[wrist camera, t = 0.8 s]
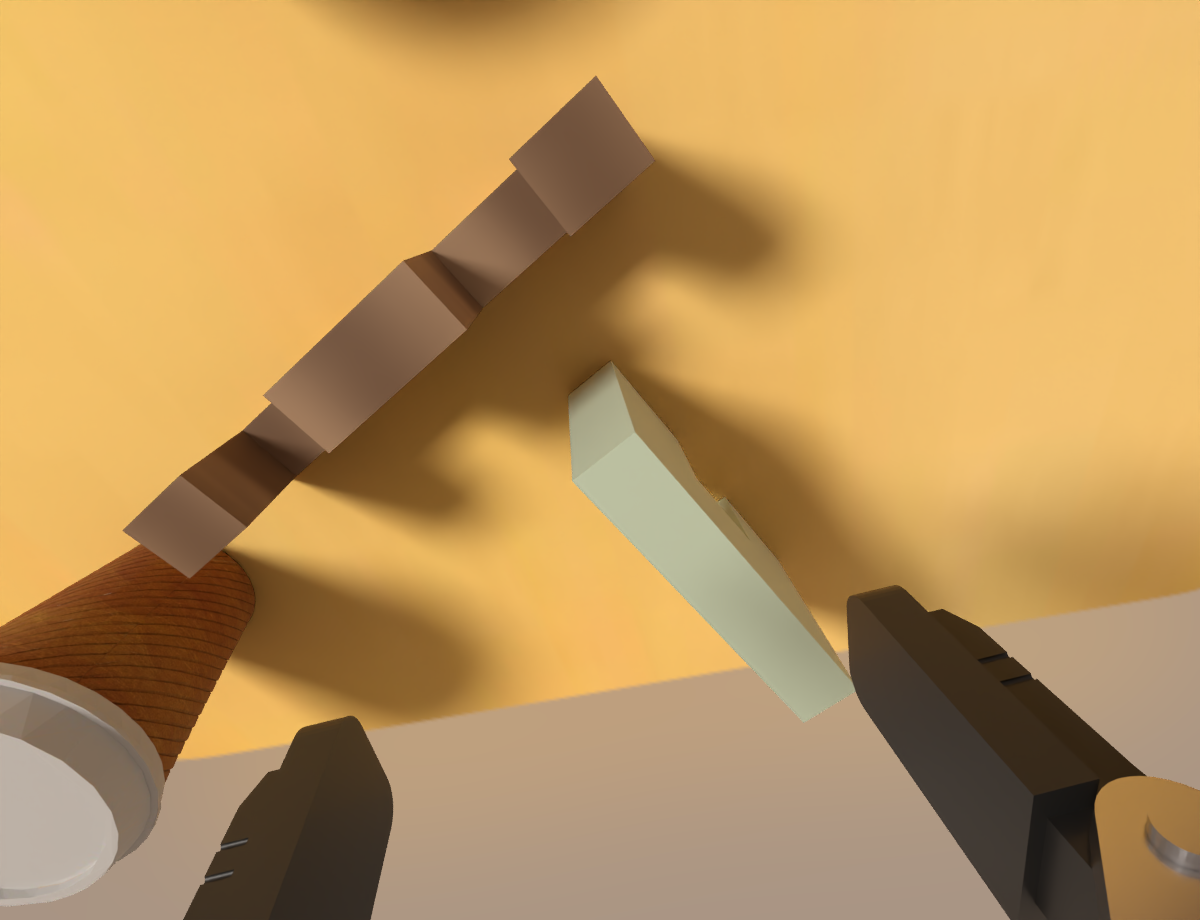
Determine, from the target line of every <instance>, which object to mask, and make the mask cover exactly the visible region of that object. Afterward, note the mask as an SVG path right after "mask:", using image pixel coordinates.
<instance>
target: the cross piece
mask: <svg viewBox="0 0 1200 920" xmlns="http://www.w3.org/2000/svg"><path fill="white" fill-rule="evenodd" d="M568 406H569V426H570V445H571V465H572V481H573V482H574V484H575V485H576V486H577V487H578V488H579V489H580V490H581V491H582V492H583V493H584V494H585V495H586V496H587V497H588V498H589V499H590V500H591V501H592V502H593V503H594V504H595V505H596V506H597V508H598V509H599V510H600V511H601V512H602V513H603V514H604V515H605V516H606V517H607V518H608V519H609V520H610V521H611V522H612V523H613V524H614V525H615V526H616V527H617V528H618V529H619V531H620V532H621V533H622V534H623V535H624V536H625V537H626V538H627V539H628V540H629V541H630V542H631V543H632V544H633V545H634V546H635V547H636V548H637V549H638V550H639V551H640V552H641V553H642V555H643V556H644V557H645V558H646V559H647V560H648V561H649V562H650V563H651V564H652V565H653V566H654V567H655V568H656V569H657V570H658V571H659V572H660V573H661V574H662V575H663V576H664V577H665V579H666V580H667V581H668V582H669V583H670V584H671V585H672V586H673V587H674V588H675V589H676V590H677V591H678V592H679V593H680V594H681V595H682V596H683V597H684V598H685V599H686V600H687V601H688V603H689V604H690V605H691V606H692V607H693V608H694V609H695V610H696V611H697V612H698V613H699V614H700V615H701V616H702V617H703V618H704V619H705V620H706V621H707V622H708V623H709V624H710V625H711V627H712V628H713V629H714V630H715V631H716V632H717V633H718V634H719V635H720V636H721V637H722V638H723V639H724V640H725V641H726V642H727V643H728V644H729V645H730V646H731V647H732V648H733V650H734V651H735V652H736V653H737V654H738V655H739V656H740V657H741V658H742V659H743V660H744V661H745V662H746V663H747V664H748V665H749V666H750V667H751V668H752V669H753V670H754V671H755V672H756V674H757V675H758V676H760V678H761V679H762V680H763V681H764V682H765V683H766V684H767V685H768V686H769V687H770V688H771V689H772V690H773V691H774V692H775V693H776V694H777V695H778V696H779V697H780V699H781V700H782V701H783V702H784V703H785V704H786V705H787V706H788V707H789V708H790V709H791V710H792V711H793V712H794V713H795V714H796V715H797V716H798V717H799V718H800V719H801V720H802V722H803V723H804V722H806V721H808V720H809V719H811V718H812V717H814V716H816V715H817V714H819V713H821V712H822V711H824V710H825V709H827V708H829V707H831V706H832V705H834V704H835V703H837V702H839V701H841V700H842V699H844V698H845V697H847V696H849V695H850V694H852V693H854V692H855V688H854V685H853V682H852V678H851V677H850V675H849V674H848V672H847V670H846V669H845V667H844V666H843V664H842V662H841V661H840V659H839V658H838V656H837V654H836V653H835V651H834V649H833V648H832V646H831V645H830V643H829V641H828V640H827V638H826V637H825V635H824V633H823V632H822V630H821V628H820V627H819V625H818V624H817V622H816V620H815V619H814V617H813V616H812V614H811V612H810V611H809V609H808V607H807V606H806V604H805V603H804V601H803V599H802V598H801V596H800V595H799V593H798V591H797V590H796V588H795V586H794V585H793V583H792V582H791V580H790V578H789V577H788V575H787V574H786V572H785V570H784V569H783V567H782V565H781V564H780V562H779V561H778V559H777V558H776V557H775V556H774V555H773V553H772V552H771V551H770V550H769V549H768V547H767V546H766V545H765V544H764V543H763V542H762V540H761V539H760V538H759V537H758V536H757V534H756V533H755V532H754V531H753V530H752V528H751V527H750V526H749V525H748V524H747V522H746V521H745V520H744V519H743V518H742V516H741V515H740V514H739V513H738V512H737V510H736V509H735V508H734V507H733V506H732V505H731V503H730V502H729V501H728V500H727V499H726V497H724V498H722V499H721V500H720V501H718V502H716V500H715V499H714V498H713V497H712V496H711V495H710V493H709V492H708V491H707V490H706V489H705V487H704V486H703V485H702V484H701V483H700V482H699V480H698V479H697V478H696V476H695V474H694V472H693V470H692V468H691V466H690V464H689V462H688V460H687V458H686V456H685V454H684V452H683V450H682V448H681V446H680V444H679V442H678V440H677V439H676V438H675V436H674V435H673V434H672V433H671V432H670V431H669V429H668V428H667V427H666V426H665V425H664V423H663V422H662V421H661V420H660V419H659V417H658V416H657V415H656V414H655V413H654V411H653V410H652V409H651V408H650V407H649V405H648V404H647V403H646V402H645V401H644V399H643V398H642V397H641V396H640V395H639V394H638V392H637V391H636V390H635V389H634V388H633V386H632V385H631V384H630V383H629V382H628V380H627V379H626V378H625V377H624V376H623V374H622V373H621V372H620V371H619V370H618V368H617V367H616V366H615V365H614V364H613V362H612V361H610V362H608V363H607V364H606V365H605V366H603V367H602V368H601V369H600V370H599V371H597V372H596V373H595V374H594V375H593V376H591V377H590V378H589V379H588V380H587V381H585V382H584V383H583V384H582V385H580V386H579V387H578V388H577V389H576V390H574V391H573V392H572V393H571V394H570V395H568Z"/></svg>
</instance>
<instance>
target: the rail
mask: <svg viewBox="0 0 1200 920" xmlns="http://www.w3.org/2000/svg"><path fill="white" fill-rule="evenodd" d="M509 160H510V161H511V162H512V164H513V165H514V166H515V167H516V169H517V170H516V171H515V172H514V173H512V174H511V175H510V176H509V177H508V178H507V179H506V180H505V181H504V182H503V183H502V184H501V185H500V186H499V187H498V188H497V189H496V190H495V191H494V192H493V193H491V194H490V195H489V196H488V197H487V198H486V199H485V200H484V201H483V202H482V203H481V204H480V205H479V206H478V207H477V208H476V209H475V210H474V211H473V212H472V213H470V214H469V215H468V216H467V217H466V218H465V219H464V220H463V221H462V222H461V223H460V224H459V225H458V226H457V227H456V228H455V229H454V230H453V231H452V232H451V233H449V234H448V235H447V236H446V237H445V238H444V239H443V240H442V241H441V242H440V243H439V244H438V245H437V246H436V247H435V248H434V249H433V250H432V251H429V252H426V253H424V254H421V255H418V256H415V257H412V258H410V259H407V260H404V261H402V262H401V263H400V264H399V265H398V266H397V267H396V268H395V269H394V270H393V271H392V272H391V273H390V274H389V275H388V276H387V277H386V278H385V279H384V280H383V281H382V282H381V283H380V284H379V285H377V286H376V287H375V288H374V289H373V290H372V291H371V292H370V293H369V294H368V295H367V296H366V297H365V298H364V299H363V300H362V301H361V302H360V303H359V304H358V305H357V306H356V307H355V308H354V309H353V310H351V311H350V312H349V313H348V314H347V315H346V316H345V317H344V318H343V319H342V320H341V321H340V322H339V323H338V324H337V325H336V326H335V327H334V328H333V329H332V330H331V331H330V332H329V333H328V334H326V335H325V336H324V337H323V338H322V339H321V340H320V341H319V342H318V343H317V344H316V345H315V346H314V347H313V348H312V349H311V350H310V351H309V352H308V353H307V354H306V355H305V356H304V357H303V358H302V359H300V360H299V361H298V362H297V363H296V364H295V365H294V366H293V367H292V368H291V369H290V370H289V371H288V372H287V373H286V374H285V375H284V376H283V377H282V378H281V379H280V380H279V381H278V382H277V383H275V384H274V385H273V386H272V387H271V388H270V389H269V390H268V391H267V392H266V393H265V394H264V395H263V396H264V397H265V398H266V399H268V400H269V401H270V402H271V404H270V405H269V406H268V407H267V408H266V409H265V410H264V411H263V412H262V413H260V414H259V415H258V416H257V417H256V418H255V419H254V420H253V421H252V422H251V423H250V424H249V425H248V426H247V427H246V428H245V429H244V430H243V431H241V432H240V433H238V434H237V435H236V436H234V437H233V438H231V439H230V440H229V441H227V442H226V443H224V444H223V445H222V446H220V447H219V448H217V449H216V450H215V451H213V452H212V453H210V454H209V455H208V456H206V457H205V458H203V459H202V460H201V461H199V462H198V463H196V464H195V465H194V466H192V467H191V468H189V469H188V470H187V471H185V472H184V473H182V474H181V475H180V476H179V477H178V478H177V479H176V480H175V481H173V482H172V483H171V484H170V485H169V486H168V487H167V488H166V489H165V490H164V491H163V492H162V493H161V494H160V495H159V496H158V497H157V498H156V499H155V500H154V501H153V502H152V503H151V504H150V505H148V506H147V507H146V508H145V509H144V510H143V511H142V512H141V513H140V514H139V515H138V516H137V517H136V518H135V519H134V520H133V521H132V522H131V523H130V524H129V525H128V526H127V527H126V528H125V529H124V530H122V531H124V532H125V533H126V534H128V535H129V536H131V537H132V538H133V539H135V540H136V541H138V542H139V543H140V544H142V545H143V546H145V547H146V548H148V549H149V550H150V551H152V552H153V553H155V554H156V555H157V556H159V557H160V558H162V559H163V560H164V561H166V562H167V563H169V564H170V565H171V566H173V567H174V568H176V569H177V570H178V571H180V572H181V573H183V574H184V575H185V576H187V577H188V578H191V577H192V576H193V575H194V574H195V573H196V572H198V571H199V570H200V569H201V568H202V567H203V566H204V565H205V564H206V563H208V562H209V561H210V560H211V559H212V558H213V557H214V556H215V555H217V554H218V553H219V552H220V551H221V550H222V549H223V548H224V547H225V546H227V545H228V544H229V543H230V542H231V541H232V540H233V539H234V538H235V537H237V536H238V535H239V534H240V533H241V532H242V531H243V530H244V529H245V528H247V527H248V526H249V525H250V524H251V522H252V521H253V520H254V519H255V518H256V517H257V516H258V515H259V514H260V513H261V512H262V511H263V510H264V509H265V508H266V507H267V506H268V505H269V504H270V503H271V502H272V501H273V500H274V499H275V498H276V497H277V496H278V495H279V494H280V492H281V491H282V490H283V489H284V488H285V487H286V486H287V485H288V484H289V483H290V482H291V481H292V480H293V479H294V478H295V477H296V476H297V475H298V474H299V473H300V472H301V471H303V470H304V469H305V468H306V467H307V466H308V465H309V464H310V463H311V462H313V461H314V460H315V459H316V458H317V457H318V456H319V455H320V454H321V453H322V452H324V451H325V450H326V451H327V452H328V453H330V452H331V451H332V450H333V449H335V448H336V447H337V446H338V445H339V444H340V443H341V442H342V441H344V440H345V439H346V438H347V437H348V436H349V435H350V434H351V433H352V432H354V431H355V430H356V429H357V428H358V427H359V426H360V425H361V424H362V423H364V422H365V421H366V420H367V419H368V418H369V417H370V416H371V415H372V414H374V413H375V412H376V411H377V410H378V409H379V408H380V407H381V406H382V405H384V404H385V403H386V402H387V401H388V400H389V399H390V398H391V397H393V396H394V395H395V394H396V393H397V392H398V391H399V390H400V389H401V388H403V387H404V386H405V385H406V384H407V383H408V382H409V381H410V380H411V379H413V378H414V377H415V376H416V375H417V374H418V373H419V372H420V371H421V370H423V369H424V368H425V367H426V366H427V365H428V364H429V363H430V362H432V361H433V360H434V359H435V358H436V357H437V356H438V355H439V354H440V353H442V352H443V351H444V350H445V349H446V348H447V347H448V346H449V345H450V344H452V343H453V342H454V341H455V340H456V339H457V338H458V337H459V336H460V335H462V334H463V333H464V332H465V331H466V330H467V329H468V328H469V326H470V325H471V324H472V322H473V321H474V319H475V318H476V317H477V315H478V314H479V313H480V311H481V310H482V308H483V307H484V306H486V305H487V304H488V303H489V302H490V301H491V300H492V299H493V298H494V297H496V296H497V295H498V294H499V293H500V292H501V291H502V290H503V289H504V288H506V287H507V286H508V285H509V284H510V283H511V282H512V281H513V280H514V279H516V278H517V277H518V276H519V275H520V274H521V273H522V272H523V271H524V270H526V269H527V268H528V267H529V266H530V265H531V264H532V263H533V262H534V261H536V260H537V259H538V258H539V257H540V256H541V255H542V254H543V253H544V252H546V251H547V250H548V249H549V248H550V247H551V246H552V245H553V244H554V243H555V242H557V241H558V240H559V239H560V238H561V237H562V236H563V235H564V234H565V233H568V234H569V235H570V237H571V236H572V235H573V234H574V233H575V232H576V231H577V230H579V229H580V228H581V227H582V226H583V225H584V224H585V223H586V222H587V221H589V220H590V219H591V218H592V217H593V216H594V215H595V214H596V213H597V212H599V211H600V210H601V209H602V208H603V207H604V206H605V205H606V204H608V203H609V202H610V201H611V200H612V199H613V198H614V197H615V196H616V195H618V194H619V193H620V192H621V191H622V190H623V189H624V188H625V187H626V186H628V185H629V184H630V183H631V182H632V181H633V180H634V179H635V178H636V177H638V176H639V175H640V174H641V173H642V172H643V171H644V170H645V169H646V168H648V167H649V166H650V165H651V164H652V163H653V162H654V161H655V160H654V158H653V157H652V155H651V154H650V153H649V151H648V150H647V148H646V147H645V145H644V144H643V142H642V141H641V140H640V138H639V137H638V135H637V134H636V132H635V131H634V130H633V128H632V127H631V125H630V124H629V122H628V121H627V119H626V118H625V117H624V115H623V114H622V112H621V111H620V109H619V108H618V107H617V105H616V104H615V102H614V101H613V99H612V98H611V96H610V95H609V94H608V92H607V91H606V89H605V88H604V86H603V85H602V84H601V82H600V81H599V79H598V78H597V76H595V77H594V78H593V79H592V80H591V81H590V82H589V83H588V84H587V85H586V86H585V87H584V88H583V89H582V90H580V91H579V92H578V93H577V94H576V95H575V96H574V97H573V98H572V99H571V100H570V101H569V102H568V103H567V104H566V105H565V106H564V107H563V108H562V109H561V110H560V111H559V112H558V113H557V114H555V115H554V116H553V117H552V118H551V119H550V120H549V121H548V122H547V123H546V124H545V125H544V126H543V127H542V128H541V129H540V130H539V131H538V132H537V133H536V134H535V135H534V136H533V137H532V138H531V139H529V140H528V141H527V142H526V143H525V144H524V145H523V146H522V147H521V148H520V149H519V150H518V151H517V152H516V153H515V154H514V155H513V156H512V157H511V158H510V159H509Z"/></svg>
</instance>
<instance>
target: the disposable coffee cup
mask: <svg viewBox="0 0 1200 920" xmlns="http://www.w3.org/2000/svg"><path fill="white" fill-rule="evenodd" d="M254 606H255V594H254V590H253V587H252V585H251V582H250V580H249V578H248V576H247V575H246V573H245V572H244V570H243V569H242V568H241V567H240V565H239V564H238V563H237V562H236V561H234V560H233V559H232V558H231V557H230V556H228V555H227V554H226V553H224V552H222V551H220V552H219V553H218V554H217V555H215V556H214V557H213V558H212V559H211V560H210V561H209V562H208V563H206V564H205V565H204V566H203V567H202V568H201V569H200V570H199V571H198V572H196V573H195V574H194V575H193V576H192V577H191V578H188V577H187V576H185V575H184V574H183V573H181V572H180V571H178V570H177V569H176V568H174V567H173V566H171V565H170V564H169V563H167V562H166V561H164V560H163V559H162V558H160V557H159V556H157V555H156V554H155V553H153V552H152V551H150V550H149V549H148V548H146V547H145V546H143V545H142V544H140V545H138V546H137V547H135V548H134V549H132V550H130V551H129V552H127V553H125V554H124V555H122V556H120V557H119V558H117V559H115V560H114V561H112V562H110V563H108V564H107V565H105V566H103V567H102V568H100V569H98V570H97V571H95V572H93V573H91V574H90V575H88V576H86V577H85V578H83V579H81V580H79V581H78V582H76V583H74V584H73V585H71V586H69V587H67V588H65V589H64V590H63V591H61V592H59V593H57V594H56V595H54V596H52V597H51V598H49V599H47V600H45V601H44V602H42V603H40V604H39V605H37V606H35V607H34V608H32V609H30V610H28V611H27V612H25V613H23V614H22V615H20V616H18V617H17V618H15V619H13V620H11V621H10V622H8V623H6V624H5V625H3V626H1V627H0V906H15V905H25V904H34V903H44V902H51V901H55V900H58V899H61V898H65V897H68V896H71V895H73V894H75V893H77V892H79V891H81V890H84V889H86V888H88V887H89V886H90V885H92V884H93V883H94V882H95V881H97V880H98V879H99V878H100V877H101V876H103V875H104V874H105V873H106V872H107V871H108V870H109V869H110V868H111V867H112V866H113V865H114V864H115V863H116V862H117V861H119V860H121V859H122V858H124V857H125V856H127V855H128V854H130V853H131V852H133V851H135V850H136V849H137V848H138V847H139V846H140V845H141V844H142V843H143V842H144V841H145V840H146V839H147V837H148V836H149V834H150V832H151V831H152V829H153V827H154V826H155V824H156V821H157V818H158V815H159V812H160V809H161V799H162V794H163V789H164V785H165V782H166V780H167V777H168V775H169V773H170V769H171V768H173V766H174V764H175V762H176V759H177V757H178V754H180V753H181V751H182V749H183V746H184V744H185V741H186V740H187V739H188V737H189V735H190V733H191V730H192V728H193V727H194V726H195V724H196V721H197V719H198V715H200V714H201V712H202V710H203V708H204V705H205V704H204V703H206V702H207V700H208V698H209V696H210V694H211V693H210V692H212V691H213V689H214V687H215V685H216V681H217V680H218V679H219V678H220V675H221V673H222V670H224V668H225V665H226V663H227V660H229V658H230V656H231V654H232V652H233V651H232V650H234V648H235V646H236V644H237V641H238V640H239V639H240V636H241V634H242V632H243V631H244V629H245V627H246V625H247V623H248V622H249V620H250V618H251V616H252V614H253V612H254Z"/></svg>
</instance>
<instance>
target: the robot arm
mask: <svg viewBox="0 0 1200 920" xmlns="http://www.w3.org/2000/svg"><path fill="white" fill-rule="evenodd" d="M847 623H848V645H849V666H850V674H851V678H852V682H853V685H854V688H855V691H856V693H857V696H858V698H859V700H860V702H861V704H862V705H863V707H864V709H865V710H866V712H867V713H868V715H869V716H870V718H871V719H872V721H873V722H874V723H875V725H876V726H877V728H878V729H879V731H880V732H881V734H882V735H883V736H884V738H885V739H886V741H887V742H888V743H889V745H890V746H891V748H892V749H893V751H894V752H895V754H896V755H897V757H898V758H899V759H900V761H901V762H902V764H903V765H904V767H905V768H906V770H907V771H908V772H909V774H910V775H911V777H912V778H913V780H914V781H915V782H916V784H917V785H918V787H919V788H920V790H921V791H922V793H923V794H924V796H925V797H926V798H927V800H928V801H929V803H930V804H931V806H932V807H933V809H934V810H935V811H936V813H937V814H938V816H939V817H940V818H941V820H942V821H943V823H944V824H945V826H946V827H947V829H948V830H949V832H950V833H951V834H952V836H953V837H954V839H955V840H956V842H957V843H958V845H959V846H960V847H961V849H962V850H963V852H964V853H965V855H966V856H967V858H968V859H969V860H970V862H971V863H972V865H973V866H974V868H975V869H976V870H977V872H978V873H979V875H980V876H981V878H982V879H983V880H984V882H985V883H986V885H987V886H988V888H989V889H990V891H991V892H992V893H993V895H994V896H995V898H996V899H997V901H998V902H999V904H1000V905H1001V907H1002V908H1003V909H1004V911H1005V912H1006V914H1007V915H1008V917H1009V918H1010V920H1200V790H1197V789H1194V788H1192V787H1189V786H1187V785H1184V784H1181V783H1177V782H1174V781H1171V780H1166V779H1161V778H1156V777H1147V776H1146V775H1145V774H1143V773H1142V772H1141V771H1140V770H1139V769H1137V768H1136V767H1135V766H1134V765H1133V764H1131V763H1130V762H1129V761H1128V760H1127V759H1126V758H1125V757H1123V755H1121V754H1120V753H1119V752H1118V751H1117V750H1116V749H1115V748H1114V747H1112V746H1111V745H1110V744H1109V743H1108V742H1107V741H1106V740H1105V739H1104V738H1102V737H1101V736H1100V735H1099V734H1098V733H1097V732H1095V730H1093V729H1092V728H1091V727H1090V726H1089V725H1088V724H1087V723H1086V722H1085V721H1083V720H1082V719H1081V718H1080V717H1079V716H1078V715H1076V713H1074V712H1073V711H1072V710H1071V709H1070V708H1069V707H1068V706H1067V705H1066V704H1064V703H1063V702H1062V701H1061V700H1060V699H1059V698H1058V697H1057V696H1055V695H1054V694H1053V693H1052V692H1051V691H1050V690H1049V689H1048V688H1047V687H1045V686H1044V685H1043V684H1042V683H1041V682H1040V681H1039V680H1038V679H1036V680H1034V679H1033V678H1032V676H1031V673H1030V672H1029V671H1027V670H1026V669H1025V668H1024V667H1023V666H1022V665H1021V664H1020V663H1019V662H1017V661H1016V660H1015V659H1014V658H1013V657H1011V658H1010V657H1008V655H1007V652H1006V651H1005V650H1004V649H1003V648H1002V647H1001V646H1000V645H998V644H997V643H996V642H995V641H994V640H993V639H992V638H991V637H990V636H988V635H987V634H986V633H985V632H984V631H983V630H982V629H981V628H979V627H978V626H976V625H974V624H972V623H970V622H968V621H966V620H964V619H962V618H960V617H958V616H956V615H954V614H952V613H950V612H948V611H946V610H944V609H940V610H936V611H932V612H927V611H926V610H925V609H924V608H923V607H922V606H921V605H920V604H919V603H918V602H917V601H916V600H915V599H914V598H913V597H912V596H911V595H910V594H909V593H908V592H907V591H906V590H905V589H903V588H902V587H900V586H897V585H893V586H889V587H885V588H881V589H877V590H873V591H869V592H865V593H860V594H856V595H852V596H850V597H849V598H848V601H847ZM392 817H393V798H392V792H391V787H390V784H389V781H388V779H387V777H386V775H385V773H384V770H383V768H382V767H381V764H380V762H379V760H378V758H377V756H376V754H375V752H374V750H373V748H372V746H371V744H370V742H369V740H368V738H367V736H366V734H365V732H364V730H363V727H362V725H361V724H360V722H359V721H358V719H357V718H355V717H354V716H347V717H343V718H339V719H335V720H331V721H327V722H323V723H319V724H314V725H310V726H306V727H303V728H301V729H300V730H299V731H298V732H297V734H296V735H295V737H294V739H293V741H292V743H291V746H290V748H289V750H288V752H287V754H286V757H285V759H284V761H283V763H282V765H281V768H280V769H279V770H275V771H271V772H268V773H267V774H266V775H265V777H264V778H263V779H262V780H261V781H260V783H259V784H258V785H257V786H256V788H255V789H254V790H253V791H252V792H251V793H250V794H249V796H248V797H247V798H246V800H244V802H243V803H242V804H241V805H240V807H239V808H238V810H237V812H236V814H235V816H234V818H233V820H232V822H231V825H230V826H229V828H228V830H227V832H226V834H225V836H224V838H223V840H222V842H221V851H220V852H216V854H215V857H214V859H213V861H212V863H211V865H210V867H209V869H208V871H207V873H206V875H205V883H204V884H203V885H200V887H199V889H198V891H197V893H196V895H195V897H194V899H193V901H192V903H191V905H190V907H189V909H188V911H187V913H186V915H185V917H184V919H183V920H370V919H371V915H372V910H373V905H374V901H375V897H376V892H377V888H378V883H379V879H380V875H381V870H382V866H383V861H384V857H385V853H386V848H387V844H388V839H389V835H390V831H391V826H392V819H393V818H392Z"/></svg>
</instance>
